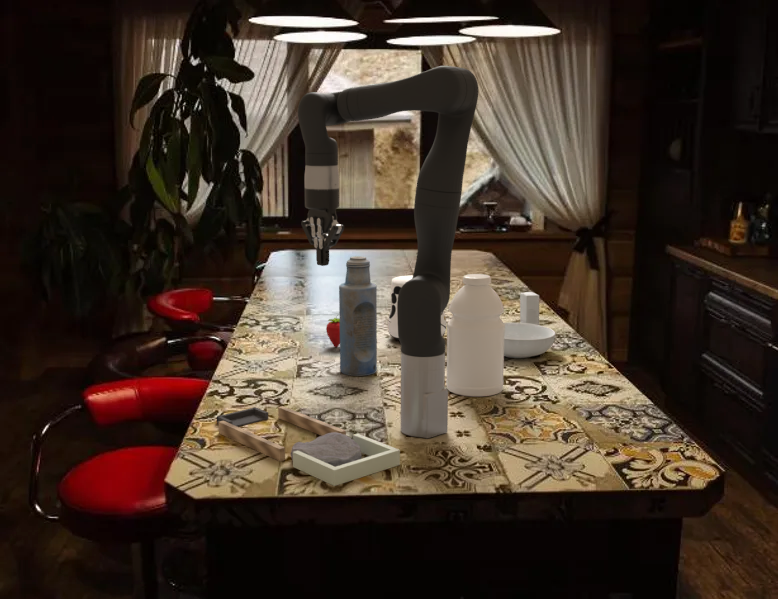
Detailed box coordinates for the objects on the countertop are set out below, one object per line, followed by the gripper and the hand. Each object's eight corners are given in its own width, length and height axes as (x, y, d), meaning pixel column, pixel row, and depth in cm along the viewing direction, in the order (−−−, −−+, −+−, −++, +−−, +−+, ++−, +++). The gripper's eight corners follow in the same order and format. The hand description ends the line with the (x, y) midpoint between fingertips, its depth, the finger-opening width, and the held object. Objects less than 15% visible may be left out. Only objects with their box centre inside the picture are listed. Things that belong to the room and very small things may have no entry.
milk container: (458, 341, 283) (459, 281, 280) (410, 349, 274) (410, 286, 270) (423, 330, 297) (423, 272, 294) (376, 337, 288) (376, 278, 284)
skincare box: (539, 334, 292) (541, 295, 290) (525, 335, 291) (526, 295, 289) (532, 329, 298) (533, 291, 296) (518, 330, 297) (519, 291, 295)
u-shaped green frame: (399, 464, 184) (399, 449, 184) (334, 485, 174) (334, 470, 173) (357, 447, 194) (357, 433, 193) (293, 466, 183) (292, 451, 183)
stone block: (366, 469, 187) (337, 446, 195) (368, 448, 186) (339, 425, 193) (315, 486, 180) (287, 460, 188) (317, 463, 179) (288, 439, 186)
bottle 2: (438, 393, 231) (440, 278, 225) (454, 379, 243) (456, 269, 238) (496, 400, 226) (498, 282, 220) (509, 384, 239) (512, 273, 233)
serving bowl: (520, 368, 254) (521, 342, 253) (463, 353, 270) (464, 329, 268) (570, 355, 268) (571, 331, 266) (513, 341, 283) (514, 318, 282)
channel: (345, 442, 197) (345, 430, 196) (279, 461, 186) (279, 449, 186) (282, 417, 213) (282, 406, 212) (218, 433, 202) (218, 421, 202)
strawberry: (345, 343, 280) (345, 310, 278) (348, 350, 272) (347, 315, 270) (325, 344, 279) (325, 310, 277) (327, 350, 271) (326, 316, 270)
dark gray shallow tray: (268, 418, 212) (268, 412, 211) (229, 428, 205) (229, 421, 205) (255, 413, 215) (255, 407, 215) (216, 423, 209) (216, 416, 208)
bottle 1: (348, 378, 244) (347, 261, 238) (334, 368, 253) (333, 255, 247) (382, 374, 248) (382, 258, 242) (368, 365, 256) (368, 253, 251)
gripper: (354, 187, 207) (355, 267, 210) (317, 183, 217) (318, 259, 220) (327, 189, 202) (327, 270, 205) (290, 185, 212) (291, 263, 215)
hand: (322, 265), depth 213 cm, fingers closed
